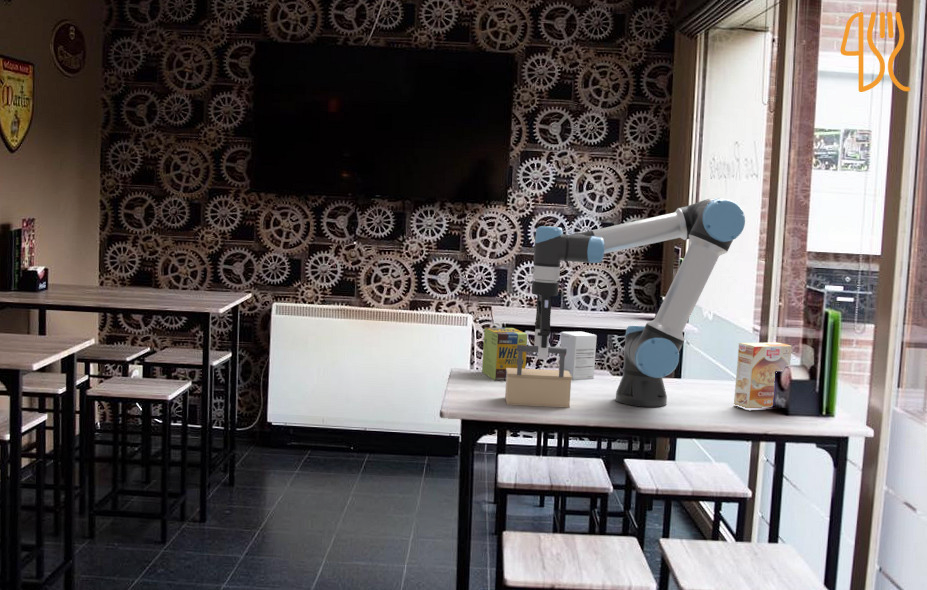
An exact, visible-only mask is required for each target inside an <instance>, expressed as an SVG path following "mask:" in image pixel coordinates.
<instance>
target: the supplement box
mask: <svg viewBox="0 0 927 590" xmlns="http://www.w3.org/2000/svg"><path fill="white" fill-rule="evenodd" d="M597 338H598V337H597V334H594V333H593V334H592V333H591V332H590V333H589V332H585V331H561V332H560V345H559V346H560V347H566V348H567V352H566V354H565V359H564V371H569V373H570V375H571V376H572V381H573V380H585V379H586V380H587V379H590V380H591V379H594V377H595V366H596V365H595V363H596V352H597V351H596V349H597ZM559 364H560V359H559V361H558V365H559Z"/></svg>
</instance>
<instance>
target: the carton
mask: <svg viewBox="0 0 927 590" xmlns="http://www.w3.org/2000/svg"><path fill="white" fill-rule="evenodd" d="M571 386H572V380H565V379H545V378H524V377H508V376H507V374H506V381H505V391H504V392H505V395H504V397H505V401H506V402H505V403H506V405H513V406H529V407H530V406H532V407H549V408H550V407H552V408H553V407H554V408H570V403H571V390H572V389H571V388H572V387H571Z"/></svg>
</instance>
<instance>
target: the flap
mask: <svg viewBox="0 0 927 590" xmlns="http://www.w3.org/2000/svg"><path fill="white" fill-rule="evenodd" d="M517 351H518V364H517V368H506V372H507V376H508V377H524V378H545V379H565V380H571V381H573V379H572V376H571V375H570V373H569V371H564V359H565V354H566V352H567V348H566V347H559V346H548V354H559V360H560V364H559V363H558V369H555V370H554V369H538V368H537V369H536V368H525V369H522V356H523V352H526V353H538V346H534V345H527V346H526V345H517Z"/></svg>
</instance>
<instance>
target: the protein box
mask: <svg viewBox="0 0 927 590" xmlns="http://www.w3.org/2000/svg"><path fill="white" fill-rule="evenodd" d="M517 345H526V346H528V333H525V332H523V331H522V330H519V329H517V328H514V327H493V326H492V327H490V326H489V327H487V326H486V327H484V331H483V348H482V364H481V365H482V366H481V367H482V369H481V373H483V374H484V375H486V376H488V377H489V378H490V379H492V380H493V381H498V382H500V381H501V382H503V381H504V382H506V374H507V372H506V368H517V364H518V351H517ZM526 363H527V352H523V356H522V369H526V367H527V366H526Z"/></svg>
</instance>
